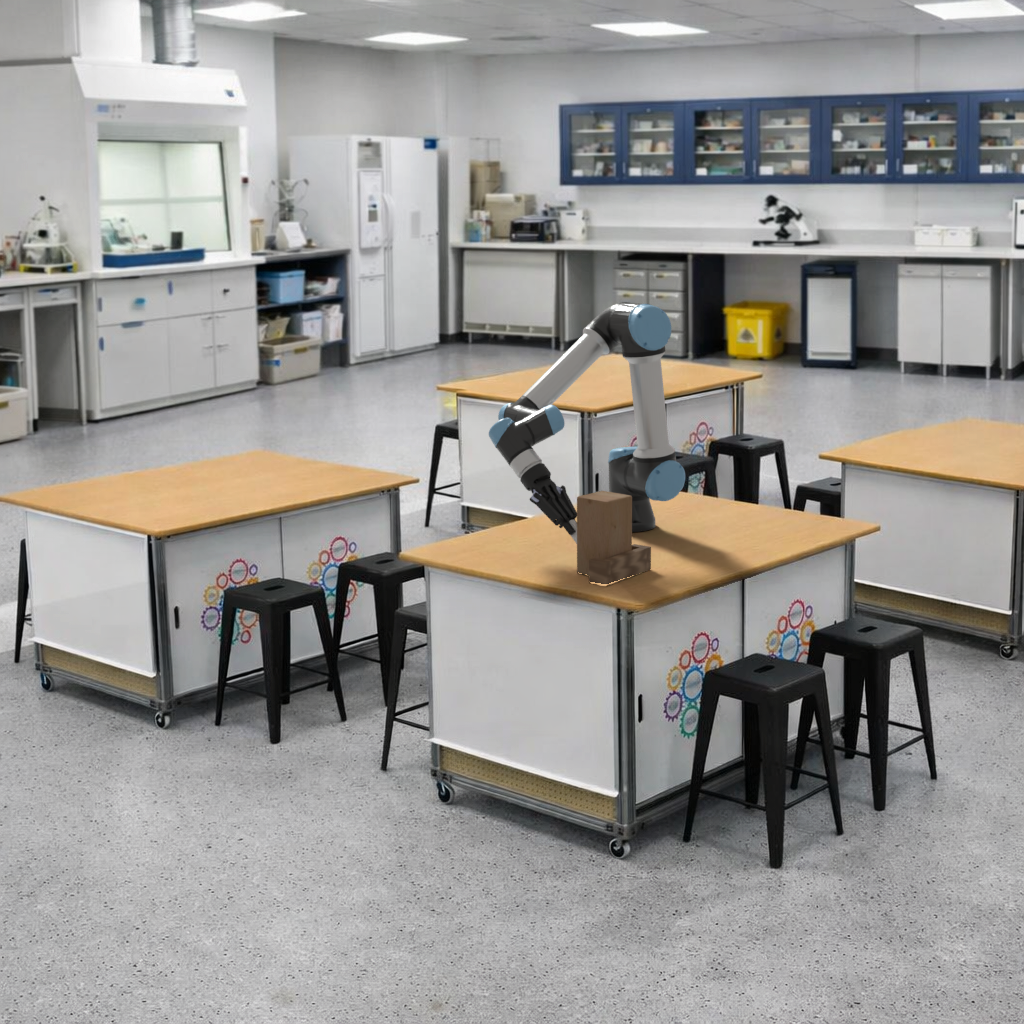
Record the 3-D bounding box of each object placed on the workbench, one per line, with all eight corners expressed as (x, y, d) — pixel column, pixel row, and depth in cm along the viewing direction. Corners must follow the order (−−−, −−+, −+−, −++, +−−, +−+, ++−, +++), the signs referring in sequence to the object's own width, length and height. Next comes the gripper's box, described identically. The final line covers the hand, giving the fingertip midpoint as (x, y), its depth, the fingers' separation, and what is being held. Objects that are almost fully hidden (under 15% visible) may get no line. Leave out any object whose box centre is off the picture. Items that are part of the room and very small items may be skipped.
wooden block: (606, 581, 356) (607, 501, 351) (576, 574, 362) (576, 496, 358) (632, 573, 363) (632, 495, 358) (601, 566, 370) (602, 490, 365)
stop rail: (634, 566, 369) (634, 544, 368) (650, 569, 366) (651, 546, 364) (589, 583, 354) (589, 559, 352) (605, 586, 350) (605, 562, 349)
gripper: (538, 475, 379) (590, 546, 372) (507, 483, 369) (559, 556, 362) (554, 458, 374) (607, 529, 368) (523, 465, 364) (576, 539, 358)
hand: (583, 542), depth 365 cm, fingers closed
